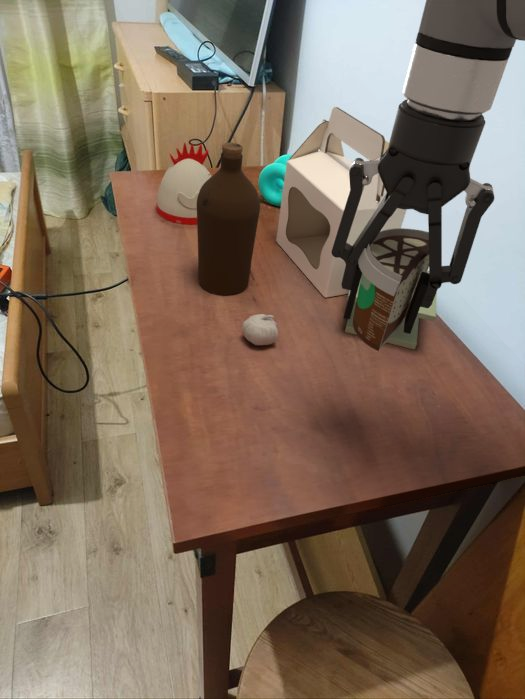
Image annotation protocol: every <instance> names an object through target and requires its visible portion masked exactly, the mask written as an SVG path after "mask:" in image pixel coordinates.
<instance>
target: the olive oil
mask: <svg viewBox="0 0 525 699" xmlns="http://www.w3.org/2000/svg"><path fill="white" fill-rule="evenodd" d="M243 156H244V155H243V146H242V145H241V144H239V143H237V142H225V143H223V144H222V146H221V153H220V167H219V169H218V170H217V171H215V173H213V175H211V177H210V178H209V179H208V180H207V181H206V182H205V183H204V184H203V185H202V187H201V189H200V191H199V194H198V198H197V224H196V229H197V280H198V283H199V285H200V287H201V288H202V289H204V290H205V291H207V292H209V293H211V294H215V295H219V296H231V295H232V296H233V295H237V294H240V293H242V292H243V291H245V290H246V289H247V288H248V286H249V282H250V276H251V267H252V261H253V254H254V248H255V243H256V235H257V229H258V224H259V218H260V212H261V201H260V196H259V193H258V190H257V189H256V187H255V185H254V184H253V183H252V181H251V180H250V179H249V178H248V177H247V176H246V175H245V173H244V172H243V170H242V167H243V166H242V165H243V158H244V157H243Z"/></svg>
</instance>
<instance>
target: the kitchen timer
mask: <svg viewBox="0 0 525 699" xmlns="http://www.w3.org/2000/svg"><path fill="white" fill-rule="evenodd" d="M175 150H176V154H177V157H176V158H175V157H174V156H173V155H172V153H171V152H169V157H170V160H171V162H172V164H170V166H169V167H168V168H167V170H165V173H164V175H163V177H162V179H161V181H160V183H159V187H158V190H157V195H156V211H157V214H158V215H159V216H160V218H162V219H164V220H165V221H167V222H171V223H174V224H178V225H185V226H189V225H191V226H193V225H196V226H197V198H198V194H199V191H200V189H201V187H202V185H203V184H204V183H205V182H206V181H207V180H208V179H209V178H210V177H211V176H212V175H211V173H210V171H209V170H208V169H207V167H206V166H205V165H204V163H205V161H206V159H207V157H208V155H209V152H210V150H209V149H207V150H206V151H205V152H204V153H203V145H202V143H200V144H199V146H198V149H197V152H195V147H194V144H193V142H191V143H190V149H189V151H188V148H187V144H186V142H185V141H184V142H183V146H182V152H181V151H180V149H179V148H178V147H176V148H175Z"/></svg>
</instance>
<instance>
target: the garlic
mask: <svg viewBox="0 0 525 699" xmlns="http://www.w3.org/2000/svg"><path fill="white" fill-rule="evenodd" d="M274 318H275V316H274V315H272V314H264V313H261V314H259V313H257V314H254V315H250V316H249V317H248V318H247V319H246V320H244V321H243V323H242V326H241V332H242V335H243V337H244V338H245V339H246V340H247V341H248V342H250V343H251V344H252V345H255V346H268V345H272V344H274V343H276V341H277V340H278V338H279V331H278V323H277V322H276V321H275V320H274Z"/></svg>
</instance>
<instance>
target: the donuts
mask: <svg viewBox="0 0 525 699" xmlns="http://www.w3.org/2000/svg"><path fill="white" fill-rule="evenodd" d="M292 155H293V154H288V153H287V154H283V155H281V156H279V157H277V158H276V159H275V160H274V161H273V163H270V164H268V165H266V166H265V167H263V169H262V170H261V172H260V173H259V177H258V181H257V182H258V183H257V184H258V190H259V193H260V195H261V196H262V198H263V199H264V200H265V201H266V202H267V203H268V204H270V205H272V206H275V207H281V201H282V194H283V187H284V179H285V172H286V165H287V161H288V160H289V159H290V157H291V156H292Z"/></svg>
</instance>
